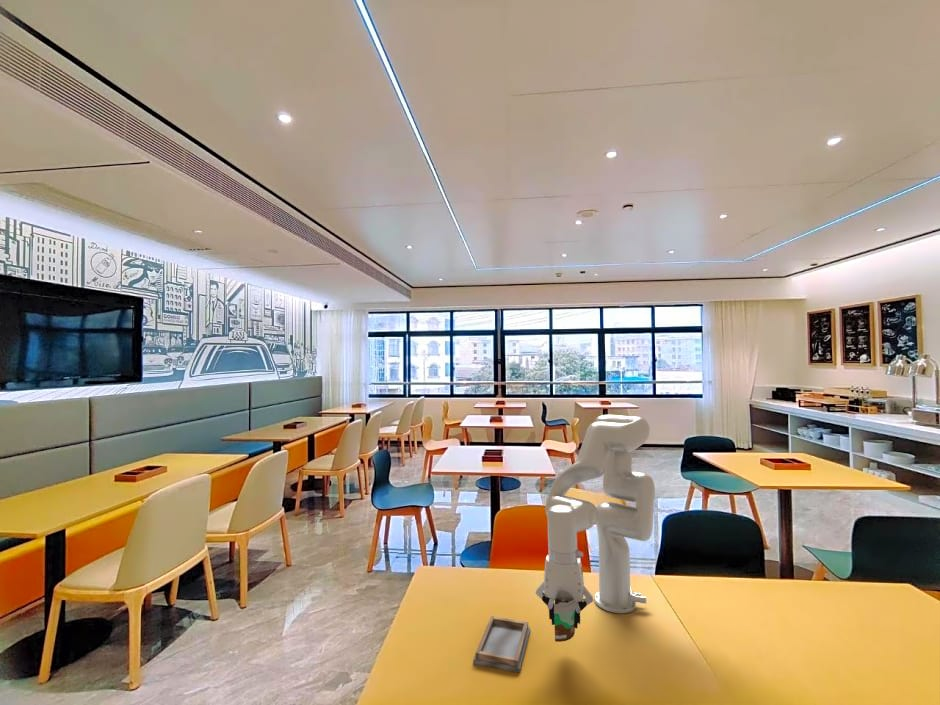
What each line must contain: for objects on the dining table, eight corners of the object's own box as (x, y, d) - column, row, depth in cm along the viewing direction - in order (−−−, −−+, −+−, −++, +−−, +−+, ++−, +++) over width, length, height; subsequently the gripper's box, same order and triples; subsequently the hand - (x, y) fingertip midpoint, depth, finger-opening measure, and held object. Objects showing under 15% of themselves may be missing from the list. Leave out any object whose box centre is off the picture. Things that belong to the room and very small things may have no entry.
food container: (580, 648, 106) (579, 607, 106) (554, 645, 107) (553, 605, 107) (578, 618, 118) (577, 582, 118) (555, 615, 119) (554, 580, 119)
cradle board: (530, 630, 123) (530, 621, 123) (519, 672, 106) (519, 662, 106) (489, 623, 127) (489, 614, 127) (473, 663, 109) (473, 653, 109)
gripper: (596, 551, 114) (598, 619, 114) (532, 545, 119) (534, 610, 119) (596, 564, 107) (598, 637, 107) (528, 557, 112) (530, 627, 112)
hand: (564, 622), depth 113 cm, fingers closed on food container, 5 cm apart
